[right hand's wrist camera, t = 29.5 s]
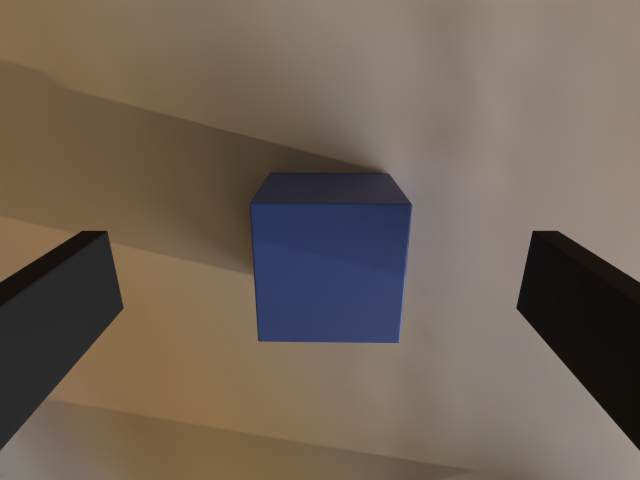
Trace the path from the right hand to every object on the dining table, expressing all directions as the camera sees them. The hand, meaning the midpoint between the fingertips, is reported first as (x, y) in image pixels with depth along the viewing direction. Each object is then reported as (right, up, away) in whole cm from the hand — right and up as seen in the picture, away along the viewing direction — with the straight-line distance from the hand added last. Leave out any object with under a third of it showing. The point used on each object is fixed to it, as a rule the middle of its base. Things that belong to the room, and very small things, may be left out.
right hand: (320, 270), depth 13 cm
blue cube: (0, +1, +5) cm, 5 cm away
